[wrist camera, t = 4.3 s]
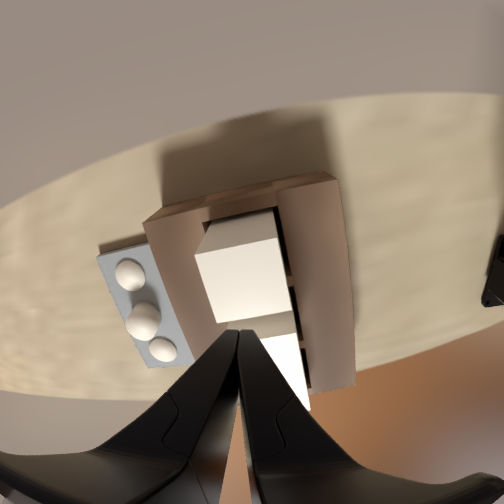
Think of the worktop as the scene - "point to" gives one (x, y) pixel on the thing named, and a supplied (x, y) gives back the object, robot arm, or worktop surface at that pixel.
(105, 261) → the card
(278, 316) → the button middle
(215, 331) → the board
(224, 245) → the button
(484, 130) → the worktop surface
